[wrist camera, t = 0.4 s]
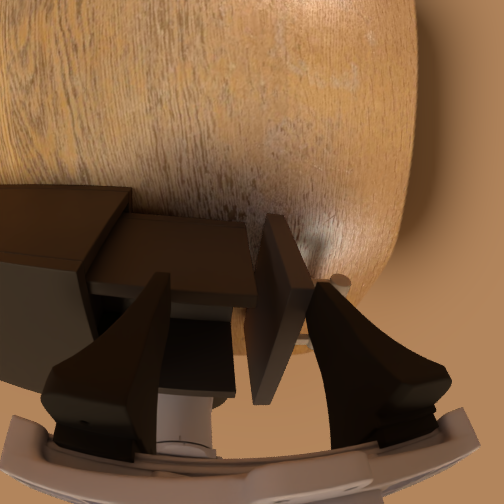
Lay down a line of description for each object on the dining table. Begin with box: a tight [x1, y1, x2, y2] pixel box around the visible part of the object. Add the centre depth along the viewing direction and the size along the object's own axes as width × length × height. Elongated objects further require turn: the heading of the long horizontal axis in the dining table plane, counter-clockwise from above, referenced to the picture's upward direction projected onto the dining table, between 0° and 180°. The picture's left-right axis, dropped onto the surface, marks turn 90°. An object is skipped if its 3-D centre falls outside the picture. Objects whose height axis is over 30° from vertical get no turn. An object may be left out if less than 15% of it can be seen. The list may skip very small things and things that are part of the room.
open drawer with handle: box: [85, 212, 351, 405], centre depth 18 cm, size 18×10×8 cm, turn 81°
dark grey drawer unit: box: [0, 184, 132, 394], centre depth 16 cm, size 15×12×10 cm
